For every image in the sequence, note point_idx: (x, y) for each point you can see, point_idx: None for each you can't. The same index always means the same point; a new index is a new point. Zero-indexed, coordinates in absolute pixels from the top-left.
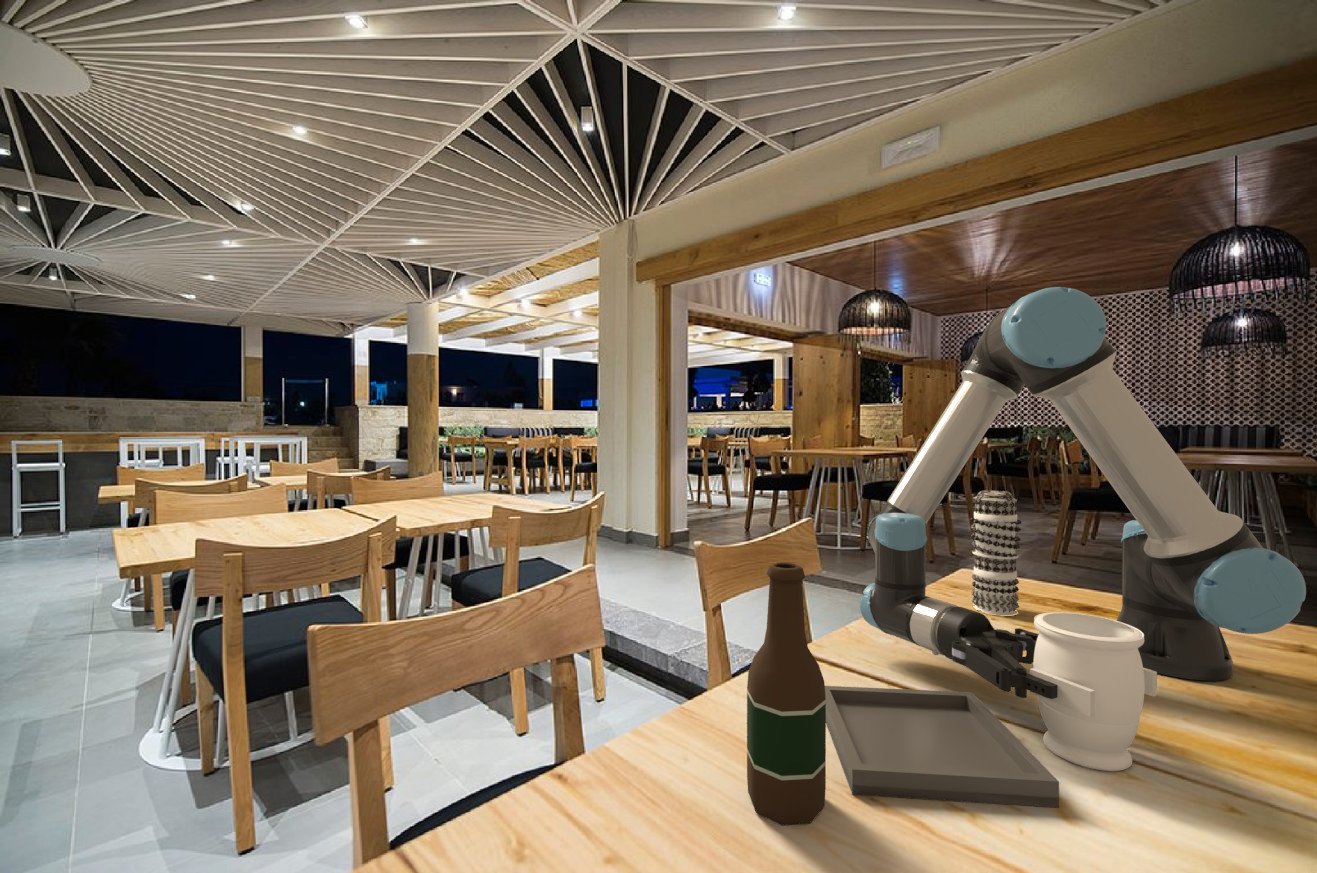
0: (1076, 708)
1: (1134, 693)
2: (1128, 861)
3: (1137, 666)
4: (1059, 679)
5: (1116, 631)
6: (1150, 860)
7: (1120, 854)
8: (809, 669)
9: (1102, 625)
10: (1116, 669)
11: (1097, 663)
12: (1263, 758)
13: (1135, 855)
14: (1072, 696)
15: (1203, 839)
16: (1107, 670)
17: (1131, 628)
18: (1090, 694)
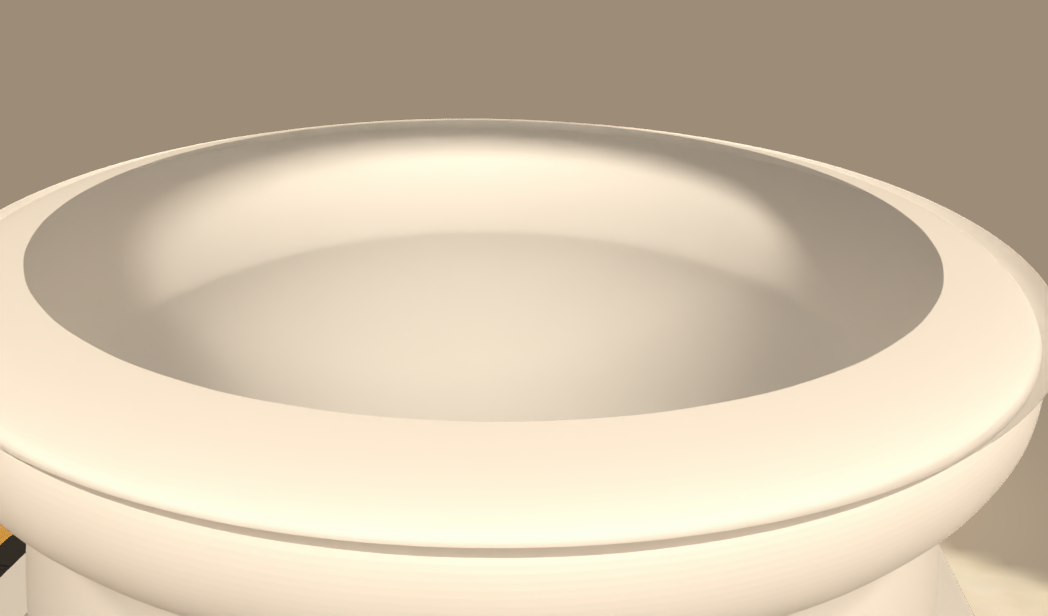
0: None
1: (563, 410)
2: (1042, 586)
3: (514, 287)
4: (946, 579)
5: (144, 257)
6: (968, 562)
7: (1043, 604)
8: None
9: (57, 285)
10: (675, 314)
11: (767, 326)
12: (10, 534)
13: (997, 584)
14: None
15: None
16: (722, 337)
17: (204, 161)
18: None
